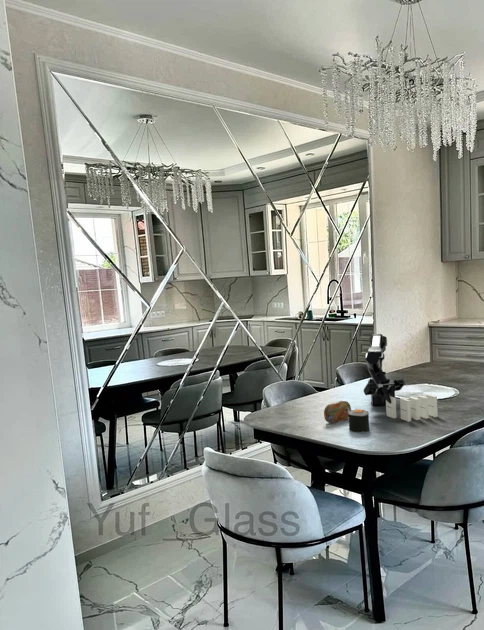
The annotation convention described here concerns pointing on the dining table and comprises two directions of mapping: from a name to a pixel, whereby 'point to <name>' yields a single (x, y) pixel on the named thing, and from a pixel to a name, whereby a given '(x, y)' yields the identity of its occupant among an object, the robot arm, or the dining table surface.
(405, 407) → the domino
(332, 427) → the dining table surface
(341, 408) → the tin
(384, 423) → the dining table surface
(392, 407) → the domino
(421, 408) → the domino
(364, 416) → the sushi
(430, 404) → the domino
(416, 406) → the domino
